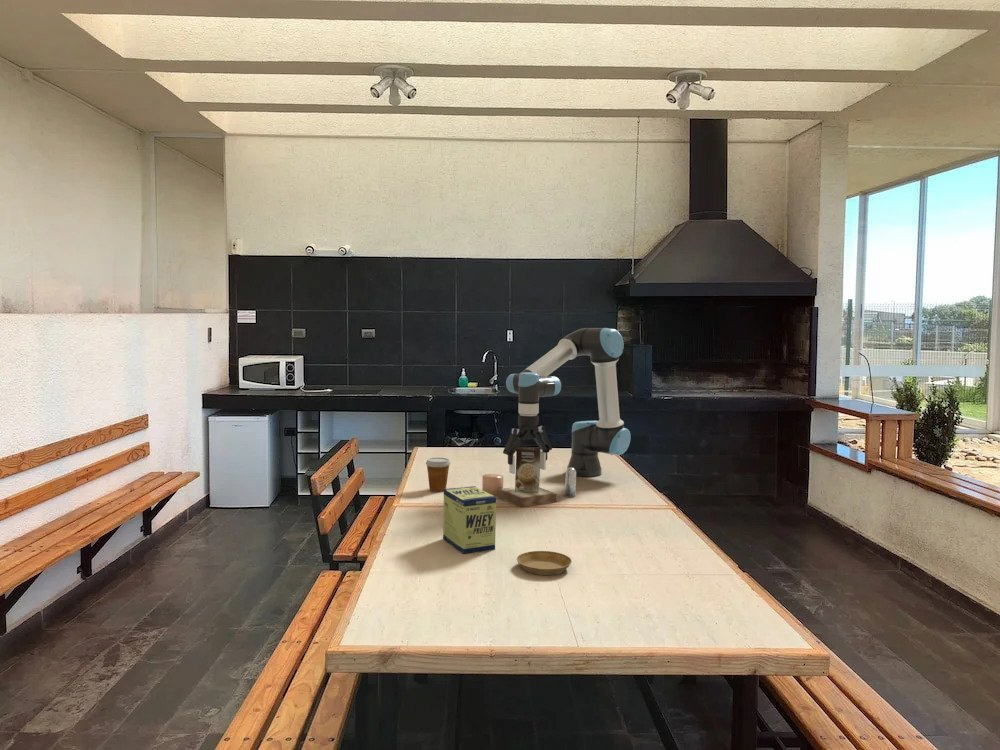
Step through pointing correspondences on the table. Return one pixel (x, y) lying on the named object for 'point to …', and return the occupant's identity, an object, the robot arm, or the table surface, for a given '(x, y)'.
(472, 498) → the protein box
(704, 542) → the table surface
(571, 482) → the salt shaker
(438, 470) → the disposable coffee cup
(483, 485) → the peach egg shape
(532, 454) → the coffee box
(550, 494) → the picture frame
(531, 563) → the plant saucer
